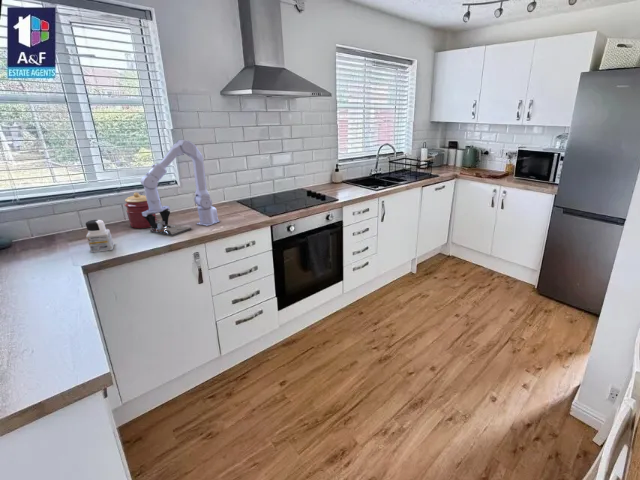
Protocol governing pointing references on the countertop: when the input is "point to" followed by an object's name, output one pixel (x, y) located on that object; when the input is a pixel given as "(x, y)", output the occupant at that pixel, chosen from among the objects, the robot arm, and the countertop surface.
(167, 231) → the dark grey flat slab
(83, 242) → the countertop surface
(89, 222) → the container
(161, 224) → the wok
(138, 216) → the kitchen canister
